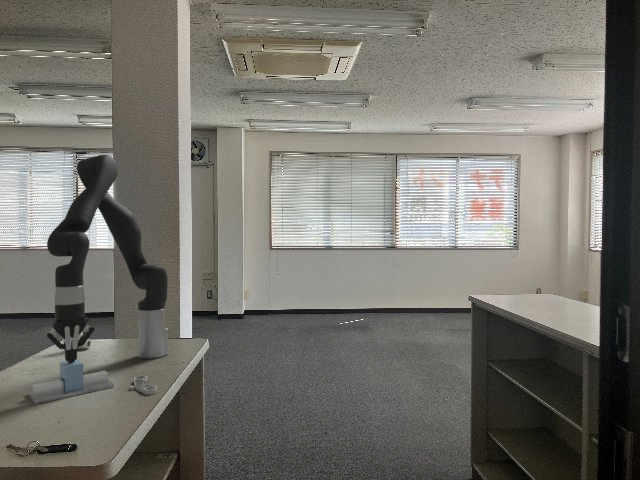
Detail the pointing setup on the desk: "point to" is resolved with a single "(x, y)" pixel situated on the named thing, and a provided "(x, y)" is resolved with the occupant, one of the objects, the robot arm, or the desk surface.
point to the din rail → (57, 391)
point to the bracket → (143, 386)
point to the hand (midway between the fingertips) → (70, 362)
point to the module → (72, 375)
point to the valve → (87, 343)
